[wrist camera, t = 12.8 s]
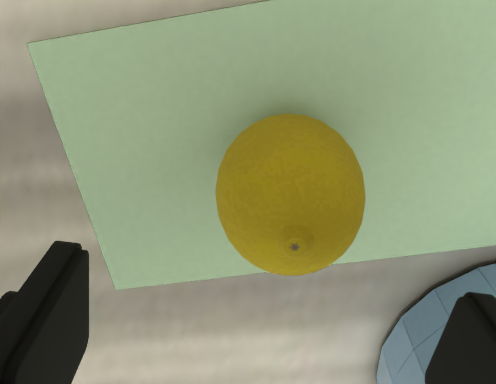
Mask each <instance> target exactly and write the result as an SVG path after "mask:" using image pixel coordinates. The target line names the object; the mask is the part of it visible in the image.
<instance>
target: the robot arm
mask: <svg viewBox="0 0 496 384" xmlns="http://www.w3.org/2000/svg"><path fill="white" fill-rule="evenodd" d="M88 338H89V253H88V251H87V250H82V247H81V244H79V243H72V242H63V241H55V242H54V243H53V244H52V245H51V247H50V248H49V250H48V251H47V252H46V254H45V255H44V257H43V258H42V259H41V261H40V262H39V263H38V265H37V266H36V268H35V269H34V270H33V272H32V273H31V275H30V276H29V277H28V279H27V280H26V281H25V283H24V284H23V286H22V287H21V288H20V290H19V291H18V292H14V291H9V292H7V293H5V294H4V295H3V296H2V297H1V299H0V384H71V383H72V380H73V378H74V376H75V373H76V371H77V369H78V366H79V364H80V362H81V359H82V357H83V355H84V353H85V350H86V347H87V343H88ZM425 384H496V298H495V297H494V296H493V295H490V294H484V293H476V292H467V293H466V294H464V296H463V297H459V298H458V299H457V301H456V303H455V305H454V307H453V310H452V312H451V314H450V317H449V319H448V321H447V323H446V326H445V328H444V330H443V333H442V335H441V337H440V339H439V342H438V344H437V346H436V349H435V351H434V353H433V356H432V358H431V360H430V362H429V365H428V367H427V369H426V372H425Z"/></svg>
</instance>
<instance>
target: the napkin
mask: <svg viewBox="0 0 496 384" xmlns="http://www.w3.org/2000/svg"><path fill="white" fill-rule="evenodd" d="M26 45H27V47H28V50H29V53H30V56H31V58H32V61H33V64H34V67H35V69H36V72H37V75H38V78H39V80H40V83H41V86H42V89H43V91H44V94H45V97H46V100H47V102H48V105H49V108H50V111H51V113H52V116H53V119H54V122H55V124H56V127H57V130H58V133H59V135H60V138H61V141H62V144H63V146H64V149H65V152H66V155H67V157H68V160H69V163H70V166H71V168H72V171H73V174H74V177H75V179H76V182H77V185H78V188H79V190H80V193H81V196H82V199H83V201H84V204H85V207H86V210H87V212H88V215H89V218H90V221H91V223H92V226H93V229H94V232H95V234H96V237H97V240H98V243H99V245H100V248H101V251H102V254H103V256H104V259H105V262H106V265H107V267H108V270H109V273H110V276H111V278H112V281H113V284H114V287H115V289H116V290H120V289H129V288H137V287H146V286H154V285H163V284H171V283H180V282H188V281H197V280H205V279H214V278H223V277H231V276H240V275H248V274H257V273H265V272H267V271H265V270H263V269H261V268H258V267H256V266H254V265H253V264H251V263H250V262H249V261H247V260H246V259H245V258H243V257H242V256H241V255H240V254H239V252H238V251H237V250H236V249H235V247H234V246H233V245H232V244H231V243H230V241H229V240H228V238H227V236H226V233H225V231H224V229H223V227H222V224H221V222H220V219H219V216H218V210H217V203H216V194H215V191H216V183H217V175H218V170H219V166H220V164H221V162H222V160H223V157H224V155H225V153H226V150H227V149H228V147H229V146H230V145H231V144H232V142H233V141H234V140H235V139H236V137H237V136H238V135H239V134H240V133H241V132H242V131H244V130H245V129H246V128H248V127H249V126H250V125H252V124H253V123H255V122H257V121H259V120H262V119H264V118H267V117H269V116H272V115H279V114H286V113H289V114H299V115H306V116H309V117H312V118H314V119H317V120H320V121H322V122H324V123H325V124H327V125H328V126H330V127H331V128H332V129H334V130H335V131H337V132H338V133H339V134H340V135H341V136H342V137H343V139H344V140H345V141H346V142H347V143H348V145H349V146H350V147H351V148H352V150H353V151H354V153H355V156H356V158H357V160H358V162H359V165H360V167H361V169H362V172H363V178H364V186H365V195H366V200H365V208H364V214H363V220H362V224H361V226H360V229H359V231H358V233H357V235H356V237H355V239H354V241H353V243H352V244H351V246H350V247H349V248H348V249H347V250H346V252H345V253H344V254H343V255H342V256H341V257H340V258H338V259H337V260H336V261H334V262H333V263H332V264H330V265H334V264H342V263H351V262H359V261H368V260H376V259H385V258H393V257H402V256H411V255H419V254H428V253H436V252H445V251H453V250H462V249H470V248H479V247H487V246H496V0H267V1H262V2H256V3H250V4H245V5H239V6H234V7H228V8H222V9H217V10H211V11H205V12H200V13H194V14H188V15H183V16H177V17H171V18H166V19H160V20H155V21H149V22H143V23H138V24H132V25H126V26H121V27H115V28H109V29H104V30H98V31H92V32H87V33H81V34H76V35H70V36H64V37H59V38H53V39H47V40H42V41H36V42H30V43H27V44H26Z"/></svg>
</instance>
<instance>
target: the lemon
mask: <svg viewBox="0 0 496 384" xmlns="http://www.w3.org/2000/svg"><path fill="white" fill-rule="evenodd" d="M215 194H216V203H217V210H218V216H219V219H220V222H221V224H222V227H223V229H224V231H225V233H226V236H227V238H228V240H229V241H230V243H231V244H232V245H233V246H234V247H235V249H236V250H237V251H238V252H239V254H240V255H241V256H242V257H243V258H245V259H246V260H247V261H249V262H250V263H251V264H253V265H254V266H256V267H258V268H261V269H263V270H265V271H267V272H270V273H275V274H280V275H285V276H286V275H304V274H309V273H313V272H316V271H318V270H321V269H323V268H325V267H327V266H329V265H330V264H332V263H333V262H334V261H336V260H337V259H338V258H340V257H341V256H342V255H343V254H344V253H345V252H346V250H347V249H348V248H349V247H350V246H351V244H352V243H353V241H354V239H355V237H356V235H357V233H358V231H359V229H360V226H361V224H362V220H363V214H364V208H365V200H366V195H365V186H364V178H363V172H362V169H361V167H360V165H359V162H358V160H357V158H356V156H355V153H354V151H353V150H352V148H351V147H350V146H349V145H348V143H347V142H346V141H345V140H344V139H343V137H342V136H341V135H340V134H339V133H338V132H337V131H335V130H334V129H332V128H331V127H330V126H328V125H327V124H325V123H324V122H322V121H320V120H317V119H314V118H312V117H309V116H306V115H299V114H289V113H286V114H279V115H272V116H269V117H267V118H264V119H262V120H259V121H257V122H255V123H253V124H252V125H250V126H249V127H248V128H246V129H245V130H244V131H242V132H241V133H240V134H239V135H238V136H237V137H236V139H235V140H234V141H233V142H232V144H231V145H230V146H229V147H228V149H227V150H226V153H225V155H224V157H223V160H222V162H221V164H220V166H219V170H218V175H217V183H216V191H215Z"/></svg>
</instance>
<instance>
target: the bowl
mask: <svg viewBox="0 0 496 384" xmlns="http://www.w3.org/2000/svg"><path fill="white" fill-rule="evenodd" d="M467 292H476V293H484V294H490V295H493V296H494V297H495V298H496V264H492V265H487V266H483V267H479V268H478V269H475V270H473V271H470V272H468V273H466V274H464V275H462V276H460V277H458V278H456V279H454V280H452V281H450V282H448V283H446V284H444V285H442V286H439V287H437V288H436V289H433V290H432V291H431V292H430V293H429V294H427V295H426V296H425V297H424V298H423V299H422V300H420V301H419V302H418V303H417V304H416V305H414V306H413V307H412V308H411V309H410V310H409V311H407V312H406V313H405V314H404V315H403V316H402V317H401V318H400V319H399V321H398V323H397V324H396V326H395V327H394V329H393V331H392V332H391V334H390V335H389V337H388V338H387V340H386V342H385V343H384V345H383V346H382V349H381V354H380V359H379V365H378V370H377V375H376V381H377V384H425V372H426V369H427V367H428V365H429V362H430V360H431V358H432V356H433V353H434V351H435V349H436V346H437V344H438V342H439V339H440V337H441V335H442V333H443V330H444V328H445V326H446V323H447V321H448V319H449V317H450V314H451V312H452V310H453V307H454V305H455V303H456V301H457V299H458V298H459V297H463V296H464V294H466V293H467Z"/></svg>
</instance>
